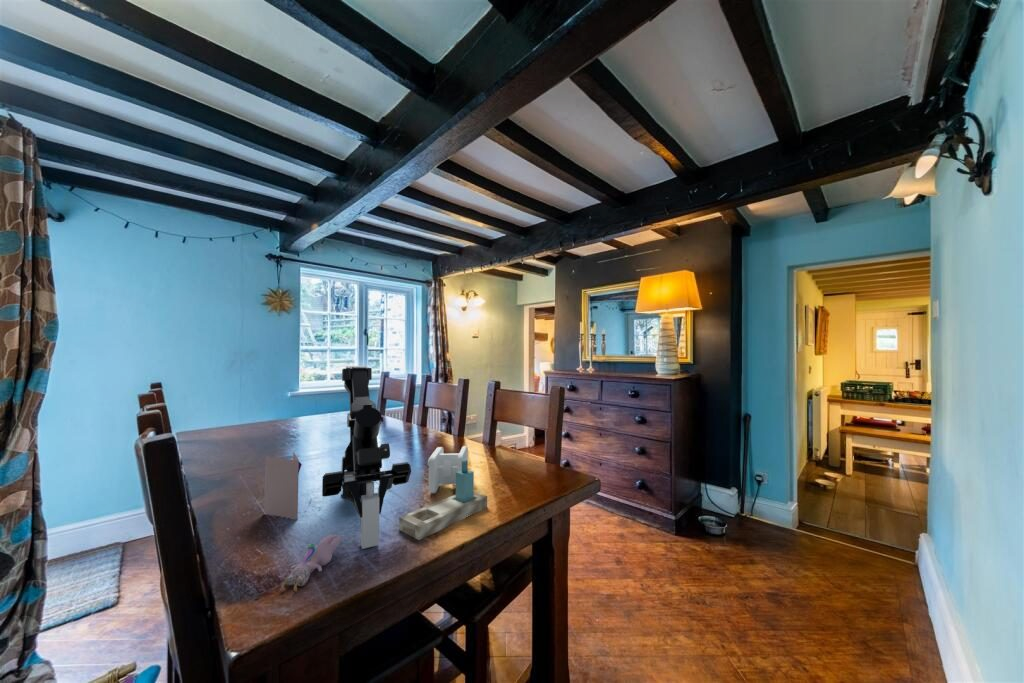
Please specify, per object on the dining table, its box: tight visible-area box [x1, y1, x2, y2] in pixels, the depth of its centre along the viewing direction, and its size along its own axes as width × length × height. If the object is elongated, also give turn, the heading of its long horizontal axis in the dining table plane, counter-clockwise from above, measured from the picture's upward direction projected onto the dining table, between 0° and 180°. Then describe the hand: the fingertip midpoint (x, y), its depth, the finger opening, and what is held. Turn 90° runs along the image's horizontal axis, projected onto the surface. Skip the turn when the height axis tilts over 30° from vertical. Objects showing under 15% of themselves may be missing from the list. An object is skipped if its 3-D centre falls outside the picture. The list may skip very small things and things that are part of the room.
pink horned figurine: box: [280, 534, 345, 592], centre depth 70 cm, size 6×6×15 cm
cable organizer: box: [427, 445, 469, 494], centre depth 114 cm, size 15×11×12 cm
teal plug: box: [455, 459, 475, 503], centre depth 97 cm, size 3×3×13 cm
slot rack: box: [398, 491, 488, 541], centre depth 92 cm, size 22×8×3 cm, turn 141°
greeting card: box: [263, 451, 303, 521], centre depth 94 cm, size 11×7×15 cm, turn 37°
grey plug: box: [360, 481, 380, 550], centre depth 79 cm, size 3×3×13 cm
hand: (370, 515), depth 78 cm, fingers closed on grey plug, 3 cm apart
